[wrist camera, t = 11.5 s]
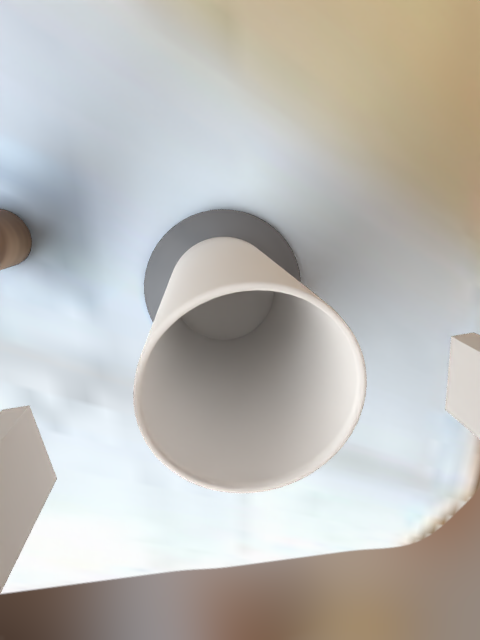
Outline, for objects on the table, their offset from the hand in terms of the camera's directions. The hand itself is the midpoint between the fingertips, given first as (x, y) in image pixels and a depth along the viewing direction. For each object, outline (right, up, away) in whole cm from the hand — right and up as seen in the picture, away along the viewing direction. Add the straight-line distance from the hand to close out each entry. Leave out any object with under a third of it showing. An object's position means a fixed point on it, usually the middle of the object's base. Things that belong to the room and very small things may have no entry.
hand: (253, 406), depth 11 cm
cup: (-2, +5, +16) cm, 17 cm away
